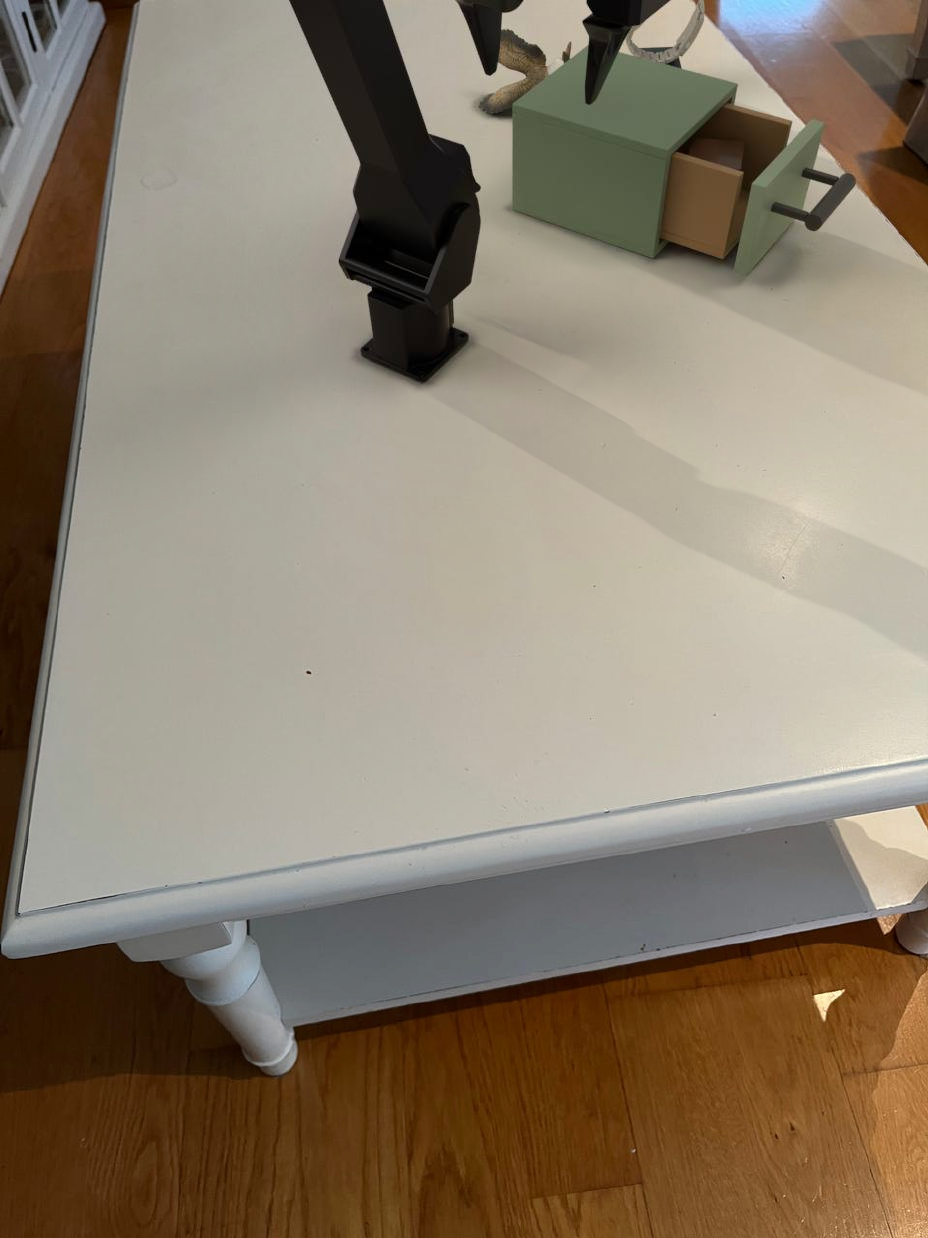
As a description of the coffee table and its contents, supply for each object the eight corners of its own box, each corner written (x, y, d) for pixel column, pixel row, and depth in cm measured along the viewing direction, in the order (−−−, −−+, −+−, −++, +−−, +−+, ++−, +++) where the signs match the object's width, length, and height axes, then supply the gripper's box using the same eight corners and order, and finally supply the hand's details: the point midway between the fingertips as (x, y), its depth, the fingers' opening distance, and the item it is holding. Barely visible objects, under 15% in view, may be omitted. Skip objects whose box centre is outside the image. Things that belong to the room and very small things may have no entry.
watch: (612, 79, 103) (622, -39, 94) (689, 77, 102) (706, -42, 93) (616, 106, 99) (627, -14, 90) (695, 103, 99) (713, -17, 90)
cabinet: (718, 190, 89) (738, 83, 82) (653, 258, 84) (667, 150, 76) (582, 147, 95) (589, 43, 87) (511, 209, 89) (512, 103, 81)
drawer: (849, 224, 84) (876, 135, 78) (794, 293, 79) (819, 203, 72) (666, 168, 90) (677, 81, 84) (604, 227, 85) (612, 140, 79)
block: (745, 141, 82) (691, 136, 83) (741, 169, 80) (686, 164, 80) (735, 191, 86) (683, 186, 86) (731, 219, 83) (678, 214, 84)
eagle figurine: (562, 65, 102) (478, 53, 101) (579, 21, 95) (489, 7, 94) (558, 135, 102) (474, 124, 101) (575, 96, 95) (485, 83, 94)
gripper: (357, -144, 63) (382, 101, 75) (608, -93, 56) (590, 168, 69) (456, -194, 68) (464, 44, 80) (697, -152, 61) (665, 100, 74)
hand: (539, 87), depth 76 cm, fingers open, 9 cm apart
